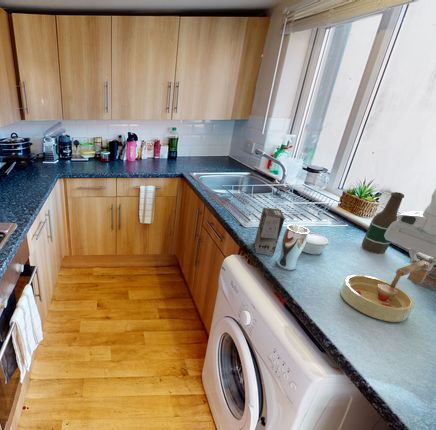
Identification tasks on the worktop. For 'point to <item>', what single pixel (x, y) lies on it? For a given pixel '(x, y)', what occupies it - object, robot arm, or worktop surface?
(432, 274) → the red printed box
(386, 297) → the tomato
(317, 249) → the ramekin
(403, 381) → the worktop surface
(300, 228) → the beer glass
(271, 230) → the coffee box
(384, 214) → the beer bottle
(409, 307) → the bowl
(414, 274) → the brass bent handle
